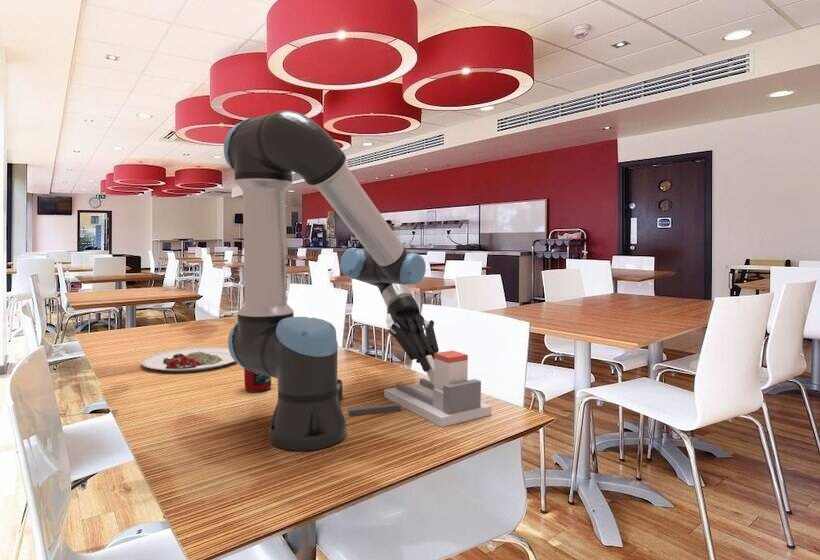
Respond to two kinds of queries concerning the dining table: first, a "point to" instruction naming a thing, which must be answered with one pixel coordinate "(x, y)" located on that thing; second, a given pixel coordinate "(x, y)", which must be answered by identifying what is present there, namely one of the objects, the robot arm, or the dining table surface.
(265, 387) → the beverage can
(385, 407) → the gray rectangular bar
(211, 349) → the plated food
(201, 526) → the dining table surface
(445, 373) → the toggle
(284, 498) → the dining table surface
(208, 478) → the dining table surface
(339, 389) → the mobile phone
